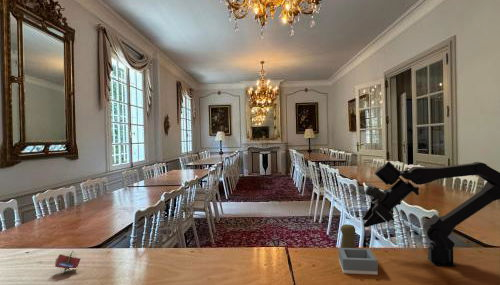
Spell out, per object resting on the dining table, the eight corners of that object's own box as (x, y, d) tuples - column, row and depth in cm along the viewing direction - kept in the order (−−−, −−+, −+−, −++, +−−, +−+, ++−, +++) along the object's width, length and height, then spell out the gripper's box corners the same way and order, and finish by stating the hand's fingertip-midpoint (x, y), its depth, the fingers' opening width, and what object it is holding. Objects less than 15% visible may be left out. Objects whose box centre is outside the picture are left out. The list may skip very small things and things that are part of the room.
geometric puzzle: (87, 259, 109) (71, 243, 108) (83, 267, 103) (66, 250, 101) (69, 274, 108) (53, 258, 106) (64, 282, 101) (46, 265, 100)
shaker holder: (370, 261, 107) (369, 248, 107) (377, 274, 96) (377, 260, 96) (338, 260, 109) (338, 247, 109) (343, 273, 98) (343, 259, 98)
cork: (359, 257, 111) (358, 227, 111) (342, 257, 111) (342, 227, 111) (354, 251, 117) (353, 222, 117) (338, 251, 117) (337, 223, 117)
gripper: (376, 175, 119) (347, 201, 123) (381, 181, 102) (347, 212, 105) (399, 195, 117) (368, 222, 120) (407, 206, 99) (371, 237, 103)
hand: (363, 222), depth 112 cm, fingers open, 9 cm apart
